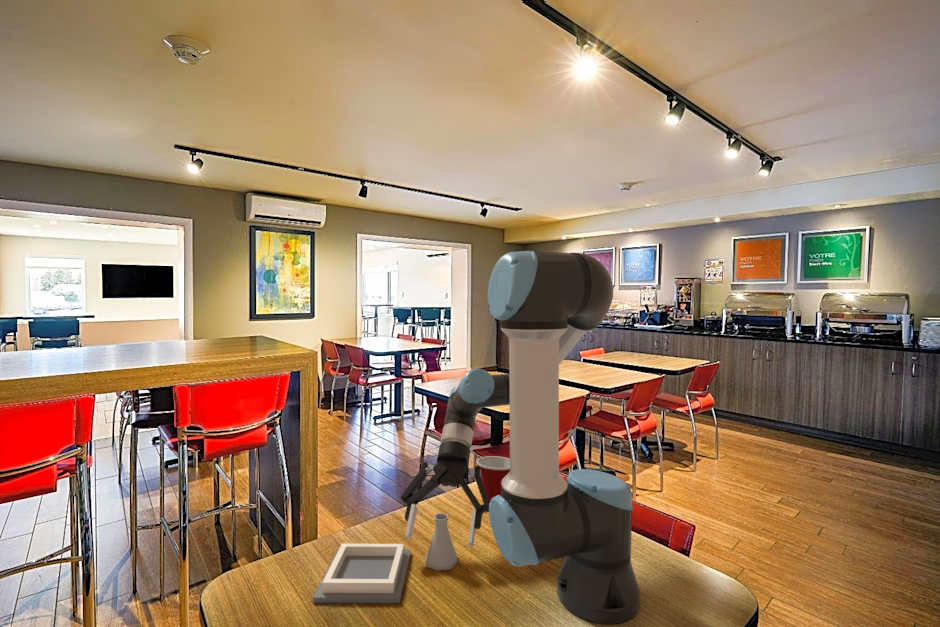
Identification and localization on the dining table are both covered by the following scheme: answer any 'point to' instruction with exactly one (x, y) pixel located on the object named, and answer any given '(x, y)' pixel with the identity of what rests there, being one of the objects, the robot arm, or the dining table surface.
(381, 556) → the holder
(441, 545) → the flask
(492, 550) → the dining table surface
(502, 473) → the plastic cup
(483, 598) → the dining table surface
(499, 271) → the robot arm
